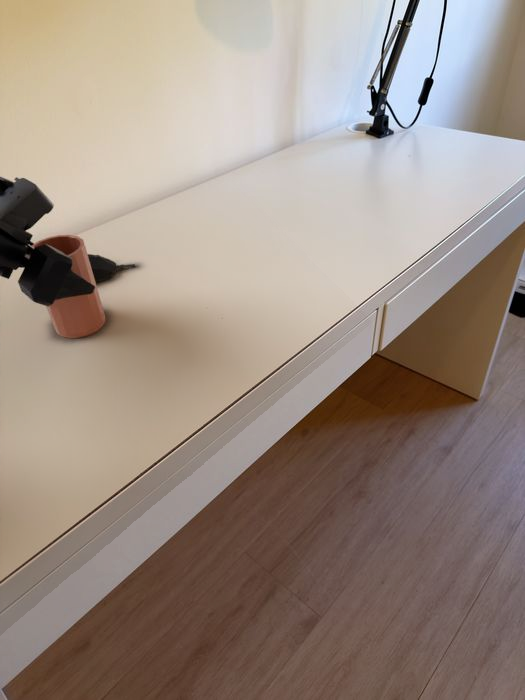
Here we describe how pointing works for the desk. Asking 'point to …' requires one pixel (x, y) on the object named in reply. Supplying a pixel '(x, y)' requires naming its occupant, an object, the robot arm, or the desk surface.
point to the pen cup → (78, 311)
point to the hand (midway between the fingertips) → (76, 277)
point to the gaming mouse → (103, 267)
